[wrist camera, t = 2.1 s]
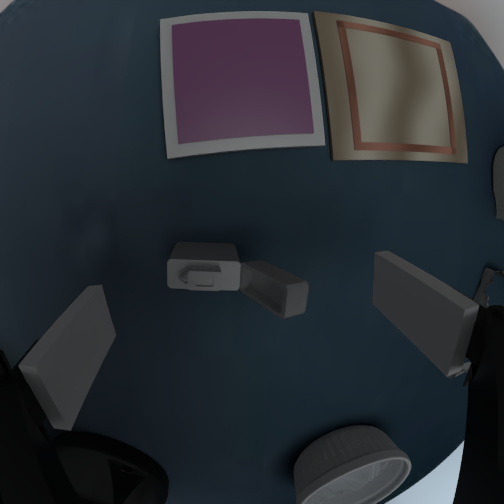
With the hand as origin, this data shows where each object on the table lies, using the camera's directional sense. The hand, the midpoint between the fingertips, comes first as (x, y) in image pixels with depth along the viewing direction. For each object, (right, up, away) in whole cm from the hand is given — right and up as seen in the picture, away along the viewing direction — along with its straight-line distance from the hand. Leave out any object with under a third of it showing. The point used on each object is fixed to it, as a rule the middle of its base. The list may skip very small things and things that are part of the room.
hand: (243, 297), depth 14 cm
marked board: (+12, +15, +6) cm, 20 cm away
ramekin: (+11, -22, +16) cm, 29 cm away
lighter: (-1, +2, +8) cm, 8 cm away
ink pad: (0, +14, +5) cm, 14 cm away
